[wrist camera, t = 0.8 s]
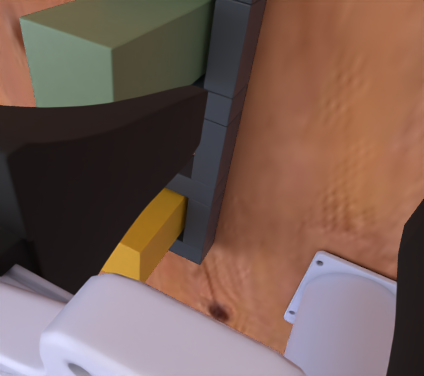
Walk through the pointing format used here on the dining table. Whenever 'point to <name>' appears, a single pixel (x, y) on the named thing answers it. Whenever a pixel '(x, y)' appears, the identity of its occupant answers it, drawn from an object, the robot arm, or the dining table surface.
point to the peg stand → (217, 122)
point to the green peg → (115, 49)
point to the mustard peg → (149, 237)
